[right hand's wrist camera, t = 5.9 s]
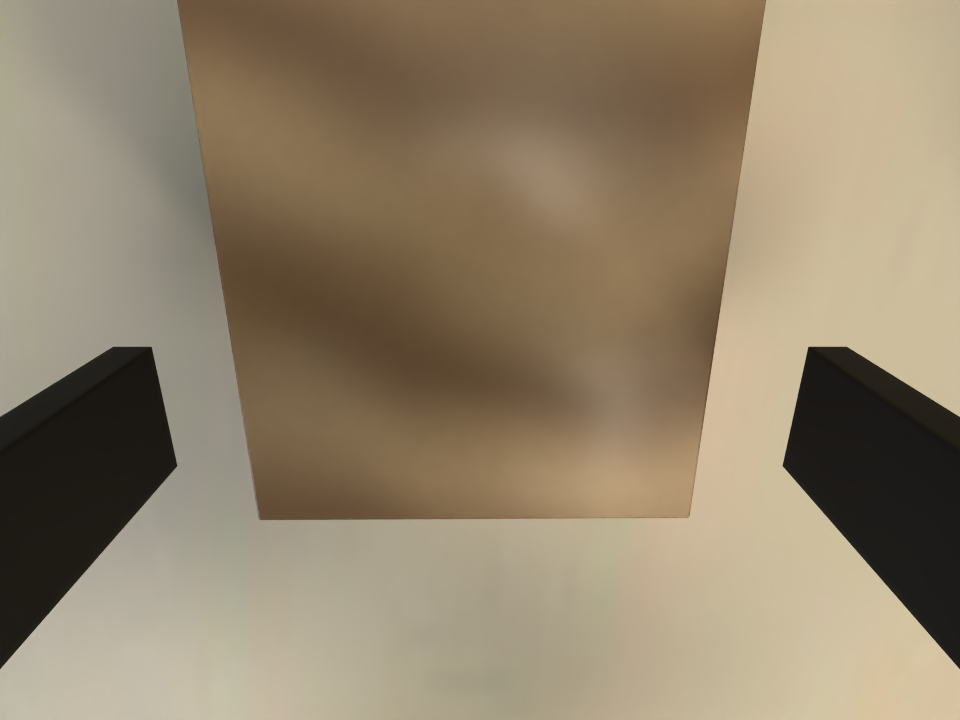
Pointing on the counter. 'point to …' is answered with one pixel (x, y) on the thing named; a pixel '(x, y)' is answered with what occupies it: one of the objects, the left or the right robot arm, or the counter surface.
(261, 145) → the cabinet
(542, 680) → the counter surface
